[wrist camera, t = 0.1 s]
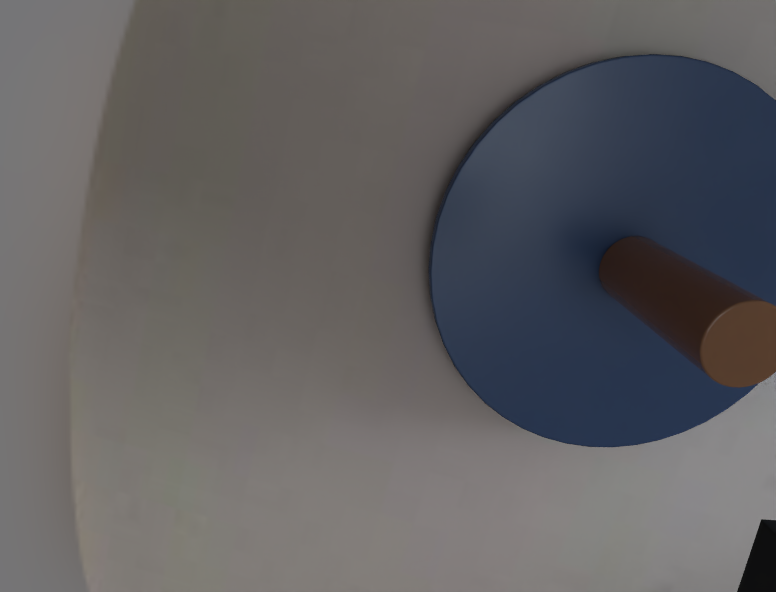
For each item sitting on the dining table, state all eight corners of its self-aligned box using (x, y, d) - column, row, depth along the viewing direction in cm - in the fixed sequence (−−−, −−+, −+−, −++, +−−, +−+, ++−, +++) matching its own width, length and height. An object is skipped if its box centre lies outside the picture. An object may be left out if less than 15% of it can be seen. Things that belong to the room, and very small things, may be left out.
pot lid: (459, 27, 25) (523, 1, 16) (862, 84, 26) (1121, 89, 18) (402, 418, 29) (427, 563, 21) (747, 447, 31) (908, 594, 22)
